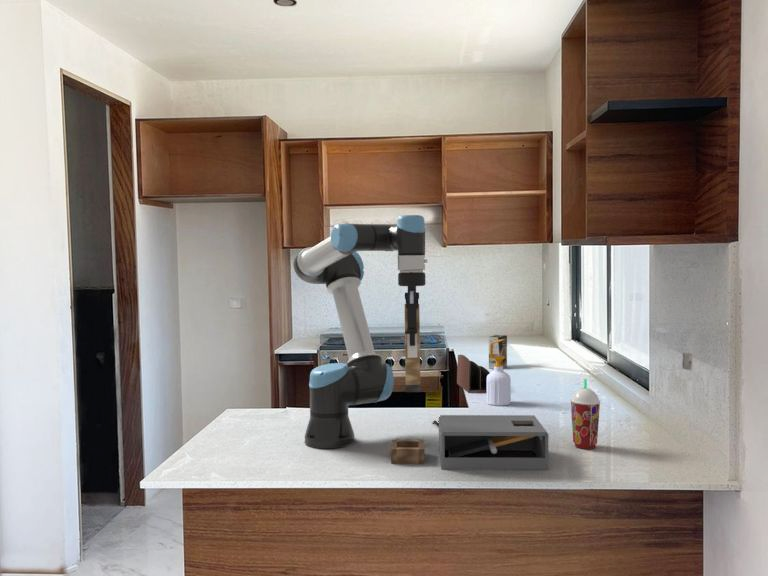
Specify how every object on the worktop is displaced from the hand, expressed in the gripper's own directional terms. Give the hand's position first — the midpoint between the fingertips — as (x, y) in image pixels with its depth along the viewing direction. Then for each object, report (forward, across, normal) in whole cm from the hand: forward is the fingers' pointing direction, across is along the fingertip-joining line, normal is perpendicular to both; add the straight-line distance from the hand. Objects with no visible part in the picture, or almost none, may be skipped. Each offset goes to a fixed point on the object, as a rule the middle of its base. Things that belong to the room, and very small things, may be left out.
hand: (412, 356), depth 180 cm
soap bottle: (+29, +69, -31) cm, 81 cm away
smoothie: (+29, +13, -50) cm, 59 cm away
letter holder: (+29, +98, -24) cm, 105 cm away
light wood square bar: (+10, 0, 0) cm, 10 cm away
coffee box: (+28, +148, -40) cm, 156 cm away
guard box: (+29, +1, -21) cm, 36 cm away
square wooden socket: (+29, 0, +2) cm, 29 cm away
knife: (+29, +30, -10) cm, 43 cm away
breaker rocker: (+24, +1, -21) cm, 32 cm away
